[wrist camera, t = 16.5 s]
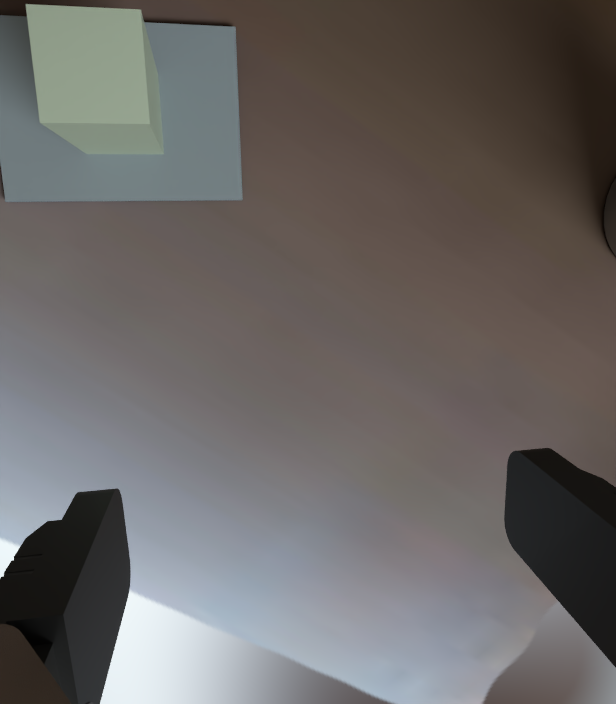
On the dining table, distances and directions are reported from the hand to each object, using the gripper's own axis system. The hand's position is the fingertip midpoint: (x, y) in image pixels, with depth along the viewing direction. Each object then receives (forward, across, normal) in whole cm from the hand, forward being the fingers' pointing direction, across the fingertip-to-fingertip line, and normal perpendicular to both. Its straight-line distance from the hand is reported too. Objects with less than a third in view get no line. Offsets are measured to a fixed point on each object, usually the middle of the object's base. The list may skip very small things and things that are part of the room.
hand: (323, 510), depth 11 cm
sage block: (+26, +7, -12) cm, 30 cm away
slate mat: (+27, +7, -12) cm, 30 cm away
